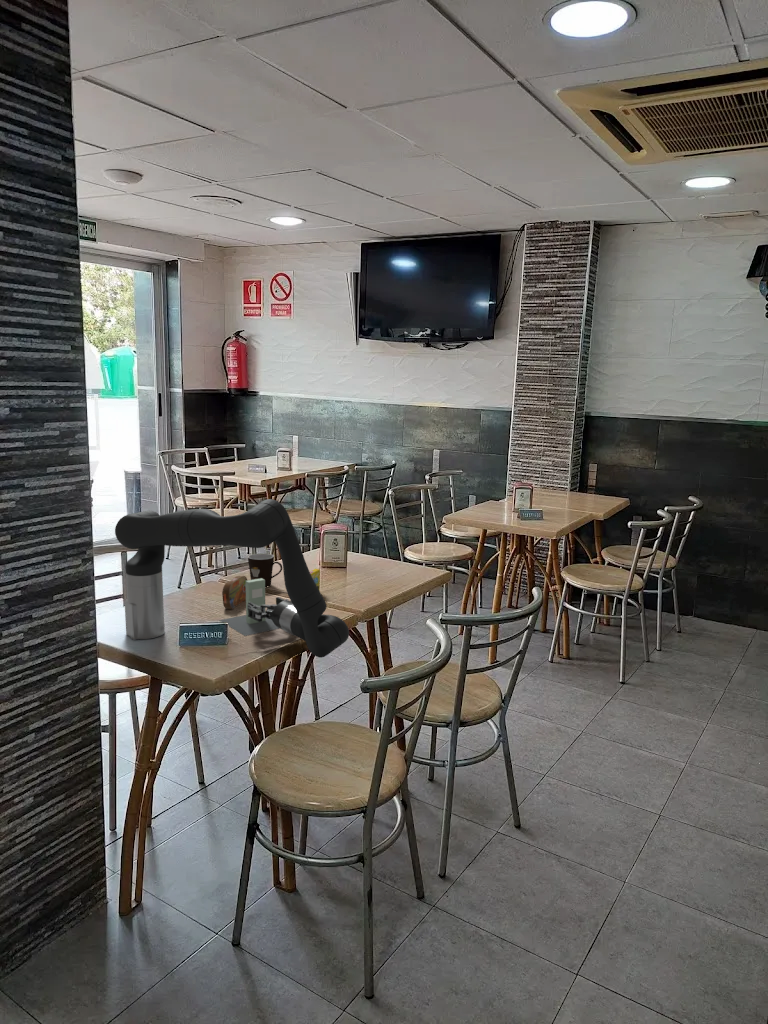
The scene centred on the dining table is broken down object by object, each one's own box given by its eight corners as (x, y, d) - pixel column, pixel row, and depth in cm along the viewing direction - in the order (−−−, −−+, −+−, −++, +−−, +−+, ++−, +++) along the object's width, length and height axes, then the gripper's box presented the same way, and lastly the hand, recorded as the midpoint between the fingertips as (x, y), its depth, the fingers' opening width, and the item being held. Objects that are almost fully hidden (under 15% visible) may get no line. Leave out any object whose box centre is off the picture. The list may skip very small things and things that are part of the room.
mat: (244, 638, 194) (244, 635, 194) (219, 622, 207) (219, 620, 207) (327, 620, 210) (327, 618, 210) (298, 606, 222) (298, 604, 222)
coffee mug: (243, 585, 245) (242, 556, 244) (264, 580, 251) (264, 552, 249) (262, 592, 237) (262, 562, 235) (284, 587, 243) (284, 558, 241)
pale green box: (249, 624, 204) (249, 582, 202) (246, 622, 205) (245, 580, 203) (265, 620, 207) (265, 579, 205) (262, 618, 208) (261, 578, 206)
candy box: (298, 607, 222) (298, 580, 221) (292, 606, 223) (291, 580, 221) (320, 593, 237) (320, 568, 236) (314, 592, 238) (314, 568, 237)
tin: (230, 613, 215) (230, 585, 214) (220, 612, 216) (220, 585, 214) (250, 599, 230) (249, 573, 228) (240, 598, 230) (240, 572, 229)
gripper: (316, 600, 192) (285, 586, 205) (268, 609, 184) (239, 594, 196) (316, 627, 194) (285, 611, 206) (268, 637, 185) (239, 620, 198)
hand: (263, 603), depth 201 cm, fingers open, 8 cm apart
